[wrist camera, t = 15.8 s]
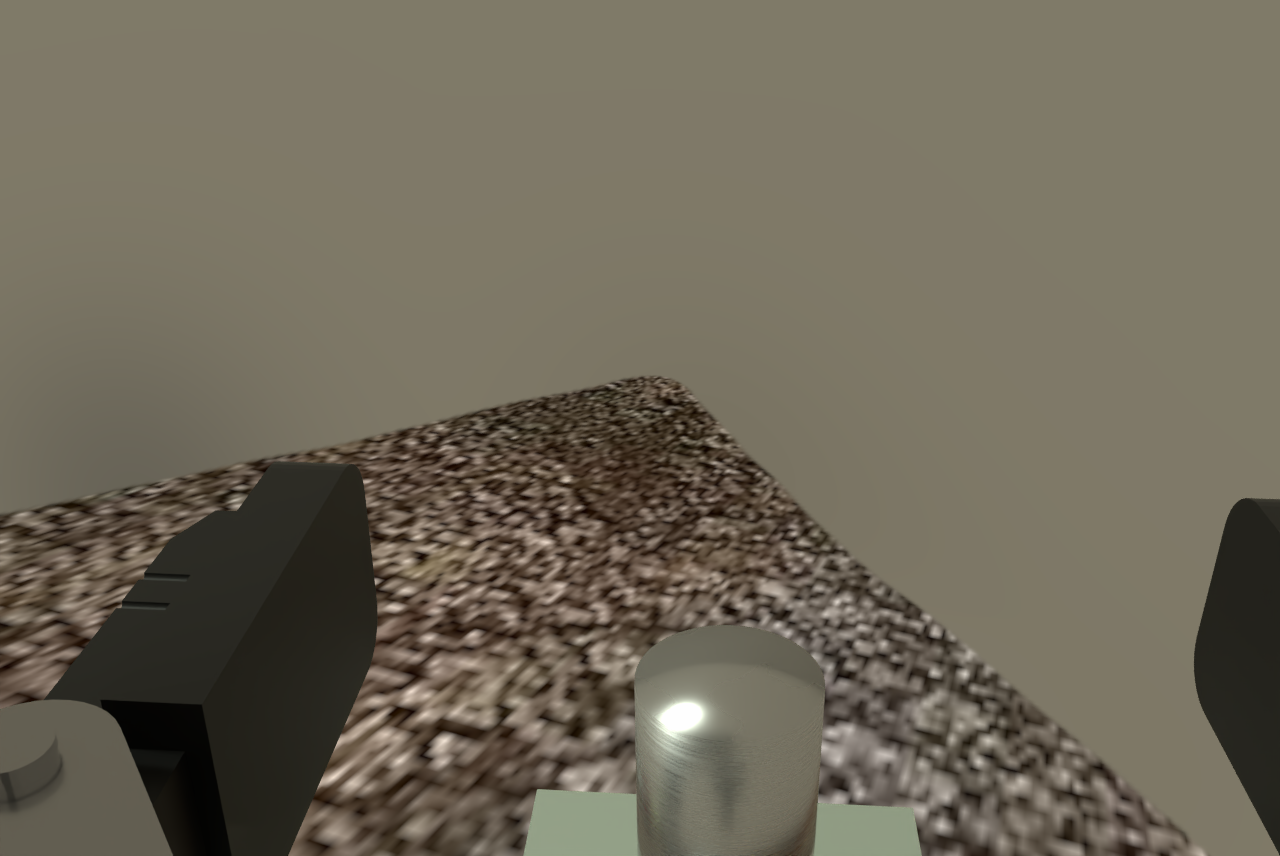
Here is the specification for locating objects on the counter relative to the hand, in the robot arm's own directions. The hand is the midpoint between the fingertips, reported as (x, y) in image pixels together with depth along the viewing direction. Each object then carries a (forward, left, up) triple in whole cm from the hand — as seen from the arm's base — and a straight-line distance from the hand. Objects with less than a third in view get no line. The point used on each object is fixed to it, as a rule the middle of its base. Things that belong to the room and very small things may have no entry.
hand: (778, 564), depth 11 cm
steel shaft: (0, +16, -27) cm, 31 cm away
